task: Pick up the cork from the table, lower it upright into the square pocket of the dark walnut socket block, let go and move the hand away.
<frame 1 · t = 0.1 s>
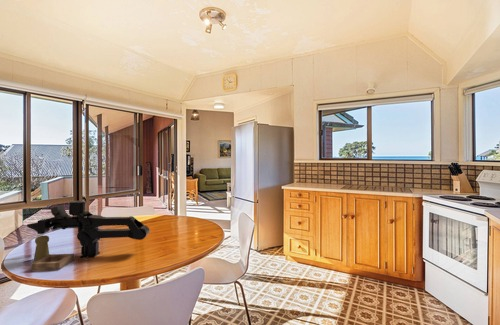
hand: (34, 223, 119), 17 cm above the table, tool horizontal, fingers open, 9 cm apart
cork: (41, 259, 117), on the table
socket block: (53, 265, 110), on the table
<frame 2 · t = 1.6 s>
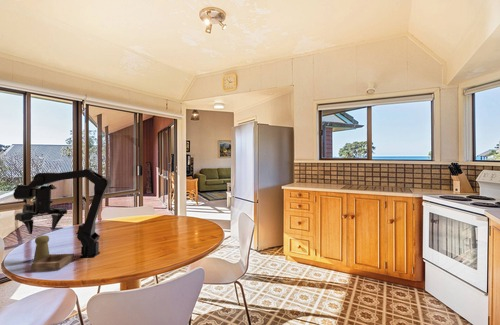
hand: (42, 231, 117), 13 cm above the table, tool pointing down, fingers open, 9 cm apart
nothing on the table moved.
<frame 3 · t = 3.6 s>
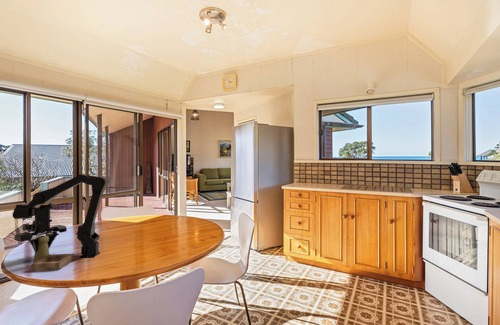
hand: (42, 250, 117), 4 cm above the table, tool pointing down, fingers closed on cork, 4 cm apart
cork: (41, 259, 117), on the table, touching gripper
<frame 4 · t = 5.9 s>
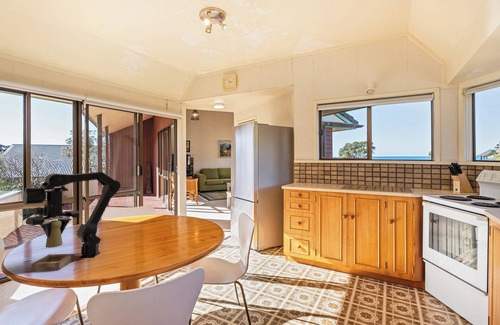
hand: (54, 236, 110), 13 cm above the table, tool pointing down, fingers closed on cork, 4 cm apart
cork: (54, 245, 110), point 9 cm above the table, touching gripper
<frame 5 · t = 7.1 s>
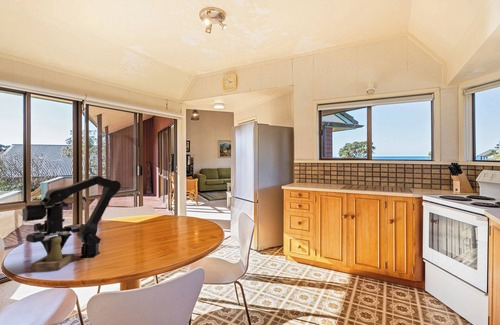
hand: (54, 252, 110), 6 cm above the table, tool pointing down, fingers closed on cork, 4 cm apart
cork: (54, 261, 110), point 2 cm above the table, touching gripper
when the fingers open (5 cm above the table, at t = 8.1 s): cork stays where it is, resting in socket block.
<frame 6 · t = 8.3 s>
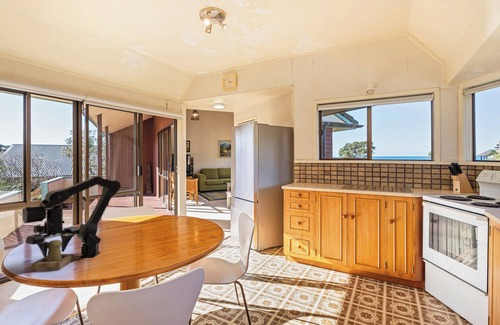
hand: (54, 254, 110), 5 cm above the table, tool pointing down, fingers open, 7 cm apart
cork: (54, 265, 110), resting in socket block
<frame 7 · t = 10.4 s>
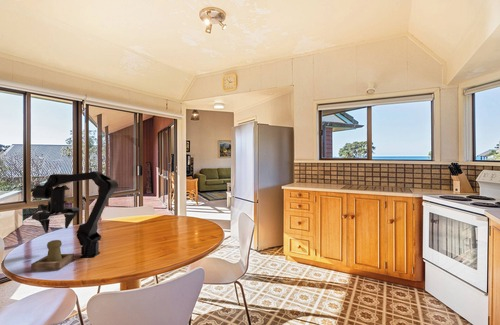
hand: (56, 230, 122), 12 cm above the table, tool pointing down, fingers open, 9 cm apart
nothing on the table moved.
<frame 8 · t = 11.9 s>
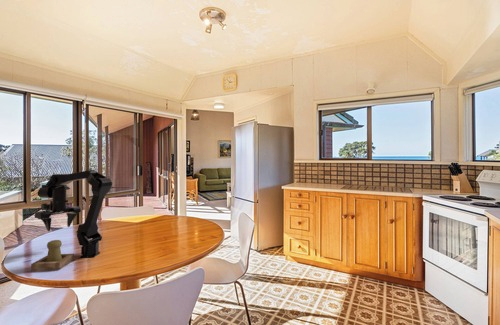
hand: (58, 228, 126), 12 cm above the table, tool pointing down, fingers open, 9 cm apart
nothing on the table moved.
at the end: cork 0.0 cm off-centre on the socket block, point 0.0 cm above the socket block's base; cork tilted 0°; the gripper is holding nothing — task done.
